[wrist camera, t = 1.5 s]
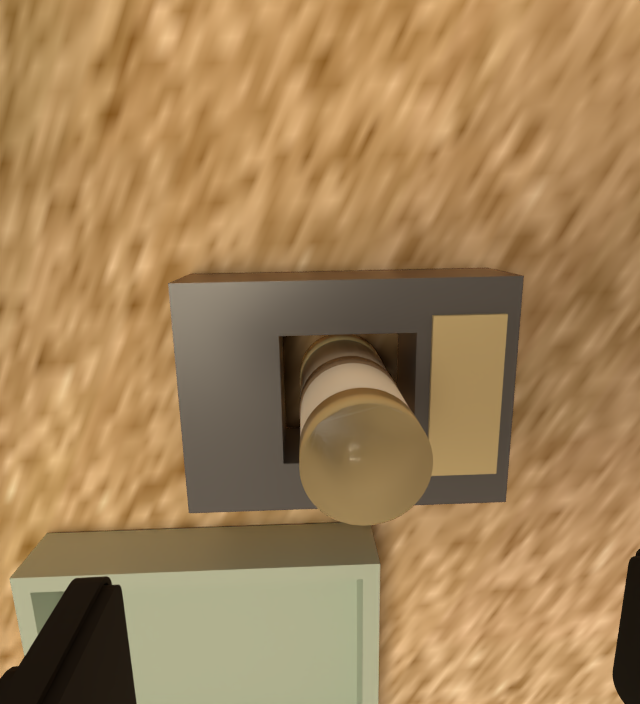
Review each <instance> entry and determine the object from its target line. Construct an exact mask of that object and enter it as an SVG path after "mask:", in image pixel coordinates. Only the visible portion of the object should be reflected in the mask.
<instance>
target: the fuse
mask: <svg viewBox="0 0 640 704" xmlns="http://www.w3.org/2000/svg"><path fill="white" fill-rule="evenodd" d="M299 470H300V478H301V482H302V485H303V488H304V490H305V492H306V494H307V496H308V497H309V499H310V500H311V501H312V503H313V504H314V505H315V506H316V507H317V508H318V509H319V510H320V511H322V512H323V513H324V514H326V515H327V516H329V517H331V518H333V519H335V520H337V521H340V522H343V523H346V524H351V525H360V526H368V525H376V524H381V523H385V522H388V521H391V520H393V519H395V518H397V517H399V516H401V515H402V514H404V513H405V512H407V511H408V510H409V509H410V508H412V507H413V506H414V505H415V504H416V503H417V502H418V501H419V499H420V498H421V497H422V495H423V494H424V492H425V490H426V488H427V487H428V484H429V482H430V479H431V475H432V470H433V453H432V448H431V445H430V442H429V439H428V437H427V435H426V433H425V431H424V430H423V428H422V427H421V425H420V423H419V422H418V420H417V418H416V417H415V415H414V414H413V412H412V411H411V409H410V408H409V407H408V405H407V403H406V402H405V400H404V398H403V397H402V395H401V393H400V391H399V389H398V387H397V385H396V383H395V382H394V380H393V379H392V377H391V376H390V374H389V373H388V372H387V370H386V368H385V367H384V364H383V362H382V360H381V359H380V357H379V355H378V354H377V352H376V351H375V349H374V348H373V347H372V345H371V344H370V343H368V342H367V341H366V340H364V339H363V338H361V337H359V336H357V335H353V334H344V335H327V336H324V337H322V338H320V339H319V340H317V341H316V342H315V343H313V344H312V345H311V346H310V348H309V349H308V350H307V352H306V353H305V355H304V357H303V359H302V362H301V367H300V446H299Z"/></svg>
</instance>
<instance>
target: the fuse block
mask: <svg viewBox="0 0 640 704" xmlns="http://www.w3.org/2000/svg"><path fill="white" fill-rule="evenodd" d="M523 277H524V276H522V275H517V274H513V273H508V272H504V271H499V270H495V269H490V268H457V269H409V270H361V271H313V272H265V273H217V274H189V275H187V276H184V277H182V278H180V279H177V280H175V281H173V282H171V283H168V286H169V297H170V308H171V319H172V330H173V342H174V353H175V364H176V375H177V386H178V397H179V408H180V420H181V431H182V442H183V453H184V464H185V475H186V486H187V497H188V509H189V513H209V512H237V511H265V510H293V509H318V508H317V507H316V506H315V505H314V504H313V503H312V501H311V500H310V499H309V497H308V496H307V494H306V492H305V490H304V488H303V485H302V482H301V478H300V470H299V446H300V427H296V428H286V410H285V382H284V355H283V336H304V335H344V334H384V333H398V366H397V387H398V389H399V391H400V393H401V395H402V397H403V398H404V400H405V402H406V403H407V405H408V407H409V408H410V409H411V411H412V412H413V414H414V415H415V417H416V418H417V420H418V422H419V423H420V425H421V427H422V428H423V430H424V431H425V433H426V435H427V437H428V439H429V442H430V445H431V448H432V453H433V470H432V475H431V479H430V482H429V484H428V487H427V488H426V490H425V492H424V494H423V495H422V497H421V498H420V499H419V501H418V502H417V503H416V504H415V505H434V504H462V503H490V502H506V491H507V479H508V466H509V453H510V441H511V428H512V416H513V403H514V390H515V378H516V365H517V353H518V340H519V327H520V315H521V302H522V290H523Z"/></svg>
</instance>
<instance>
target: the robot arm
mask: <svg viewBox="0 0 640 704" xmlns="http://www.w3.org/2000/svg"><path fill="white" fill-rule="evenodd" d="M613 681H614V685H615V688H616V690H617V693H618V694H619V696H620V698H621V699H622V701H623V702H624V704H640V549H639V550H638V551H637V552H636V556H634V557H632V558H631V559H630V561H629V565H628V571H627V578H626V585H625V592H624V599H623V605H622V612H621V619H620V626H619V633H618V639H617V646H616V653H615V660H614V666H613ZM0 704H137V702H136V694H135V687H134V679H133V671H132V664H131V656H130V648H129V640H128V633H127V625H126V617H125V610H124V602H123V594H122V589H121V586H120V585H112V582H111V579H110V578H109V577H107V576H103V577H85V578H75V579H73V580H72V581H71V583H70V584H69V586H68V587H67V589H66V590H65V592H64V594H63V595H62V597H61V598H60V600H59V602H58V603H57V605H56V607H55V608H54V610H53V611H52V613H51V615H50V616H49V618H48V620H47V621H46V623H45V624H44V626H43V628H42V629H41V631H40V632H39V634H38V636H37V637H36V639H35V641H34V642H33V644H32V645H31V647H30V649H29V650H28V652H27V654H26V655H25V657H24V658H23V660H22V662H21V663H20V665H19V666H16V667H12V668H10V669H9V670H7V671H6V672H5V673H4V675H3V676H2V677H1V679H0Z"/></svg>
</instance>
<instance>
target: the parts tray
mask: <svg viewBox="0 0 640 704" xmlns="http://www.w3.org/2000/svg"><path fill="white" fill-rule="evenodd" d="M103 576H107V577H109V578H110V579H111V582H112V585H120V586H121V589H122V594H123V602H124V610H125V617H126V625H127V633H128V640H129V648H130V656H131V664H132V671H133V679H134V687H135V694H136V702H137V704H378V690H379V613H380V561H379V557H378V553H377V548H376V544H375V540H374V536H373V531H372V527H371V525H368V526H360V525H351V524H346V523H343V522H341V523H314V524H287V525H259V526H232V527H205V528H177V529H150V530H123V531H95V532H68V533H47V534H46V535H45V536H44V537H43V539H42V540H41V541H40V542H39V543H38V545H37V546H36V547H35V548H34V549H33V551H32V552H31V553H30V554H29V556H28V557H27V558H26V559H25V560H24V562H23V563H22V564H21V565H20V566H19V568H18V569H17V570H16V571H15V572H14V574H13V575H12V576H11V577H10V583H11V589H12V594H13V599H14V604H15V609H16V614H17V620H18V625H19V630H20V635H21V640H22V646H23V651H24V656H25V655H26V654H27V652H28V650H29V649H30V647H31V645H32V644H33V642H34V641H35V639H36V637H37V636H38V634H39V632H40V631H41V629H42V628H43V626H44V624H45V623H46V621H47V620H48V618H49V616H50V615H51V613H52V611H53V610H54V608H55V607H56V605H57V603H58V602H59V600H60V598H61V597H62V595H63V594H64V592H65V590H66V589H67V587H68V586H69V584H70V583H71V581H72V580H73V579H75V578H85V577H103Z"/></svg>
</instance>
